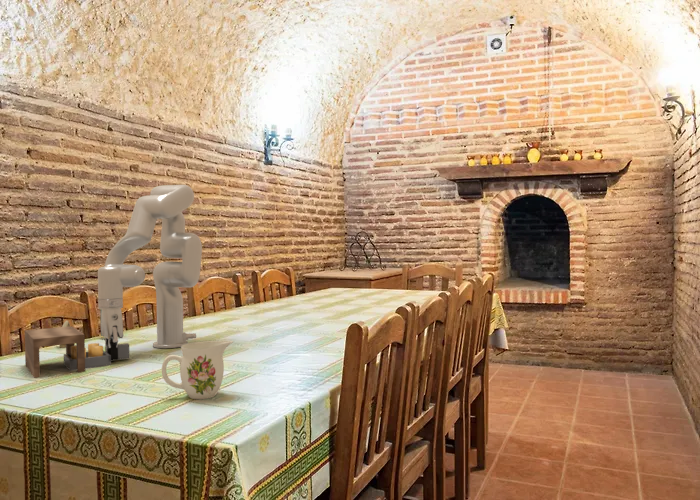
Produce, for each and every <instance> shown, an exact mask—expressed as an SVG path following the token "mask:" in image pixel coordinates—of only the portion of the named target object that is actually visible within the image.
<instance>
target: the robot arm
mask: <svg viewBox="0 0 700 500" xmlns="http://www.w3.org/2000/svg"><path fill="white" fill-rule="evenodd" d="M194 201H195V193H194V190H193V188H192V187H190V186H189V185H187V184H167V185H166V184H165V185H158V186H155V187H152V189H151V190H150V195H143V196H140V197H139V198H138V199H136V202H135V204H134V208H133V210H132V214H131V217H130V220H129V222H128V223H129V224H128V227H127V230H126V232H125V234H124V235H123V236H122V237H121V238H120V239H119V240H118V241H117V242H116V243H115V245H114V246H113V247H112V248H111V249H110V250H109V253H108V254H107V256H106V259H105V262H104V266H101V267H99V268H98V270H97V298H98V300H97V302H98V303H97V304H98V310H100V322H101V323H100V328H101V329H100V333H101V332H102V336H101V337H103V338H104V341H105V343H104V344H105V345H104V346H105V348H104V351H105V352H106V345H108V348H107V353H108V354H109V355H111V360H112V361H117V359H118V344H119V339H123V337H124V323H123V312H122V308H124V299H123V298H124V295H123V294H124V293H123V292H124V291H123V289H124V287H127V288H128V287H130V288H131V287H133V288H134V287H138V286H140V285H141V284H142V283H144V281H145V280H146V279H145V278H146V272H145V270H144V269H143V267H141V266H140V265H137V264H125V260H126V259H127V257H129V255H131V254H132V253H134V252H135V251H136V250H138V249H141V248H142V247H144V246H146V245H147V244H149V243H151V241H152V237H153V235H154V231H155V228H156V225H157V221H158V220H161V231H160V232H161V233H160V242H159V243H160V244H159V245H160V246H159V250H160V254H161V255H162V256H163V257H165V258H169V259H181V260H182V261H173V260H172V261H162V262H159V263H158V264H156V265H155V267H154V268H153V272H152V278H153V283H154V287H155V293H156V294H155V295H156V341H154V342H152V347H153V348H156V349H157V348H158V349H174V348H175V349H177V348H181V346H182V345H184V344H188V343H189V341H188V340H189V339H197V333H186V332H184V297H183V294H182V291H181V290H180V288H193V287H195V286H196V285H197V284H198V283H199V279H200V275H201V265H202V256H203V255H202V254H203V244H202V240H201V238H200V237H199V235H197V234H196V233H193V232H186V218H185V215H184V214H183V211H185V210H187V209H189V208H190V207H191V205H192V204H193V203H194ZM101 309H102V311H101Z"/></svg>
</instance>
